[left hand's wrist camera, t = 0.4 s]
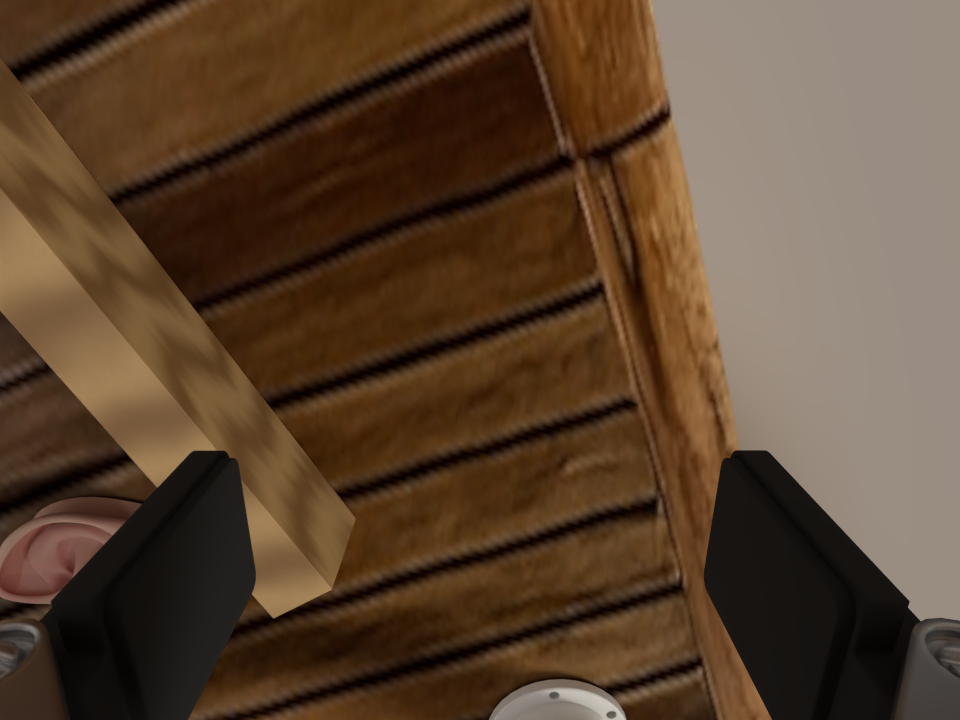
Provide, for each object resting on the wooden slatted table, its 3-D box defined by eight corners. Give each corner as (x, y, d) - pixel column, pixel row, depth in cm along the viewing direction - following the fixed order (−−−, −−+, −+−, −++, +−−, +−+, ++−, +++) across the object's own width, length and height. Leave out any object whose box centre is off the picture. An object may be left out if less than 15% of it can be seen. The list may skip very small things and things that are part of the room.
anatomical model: (207, 586, 42) (131, 679, 45) (230, 551, 46) (157, 638, 49) (36, 484, 39) (-34, 590, 42) (74, 455, 43) (8, 555, 46)
